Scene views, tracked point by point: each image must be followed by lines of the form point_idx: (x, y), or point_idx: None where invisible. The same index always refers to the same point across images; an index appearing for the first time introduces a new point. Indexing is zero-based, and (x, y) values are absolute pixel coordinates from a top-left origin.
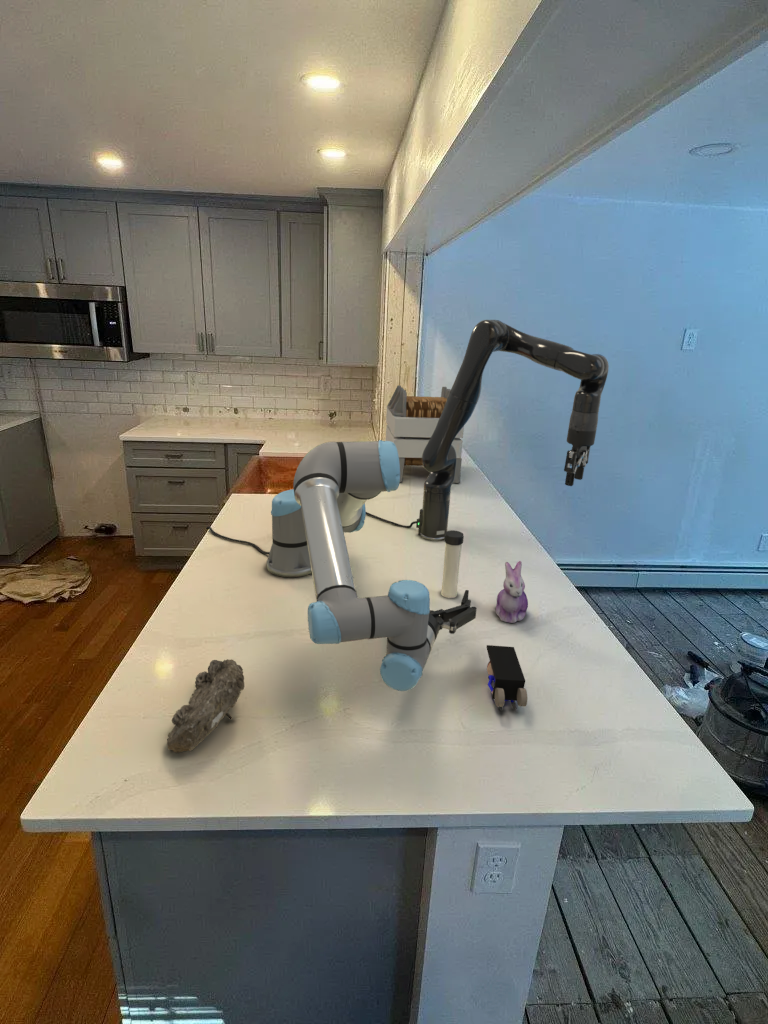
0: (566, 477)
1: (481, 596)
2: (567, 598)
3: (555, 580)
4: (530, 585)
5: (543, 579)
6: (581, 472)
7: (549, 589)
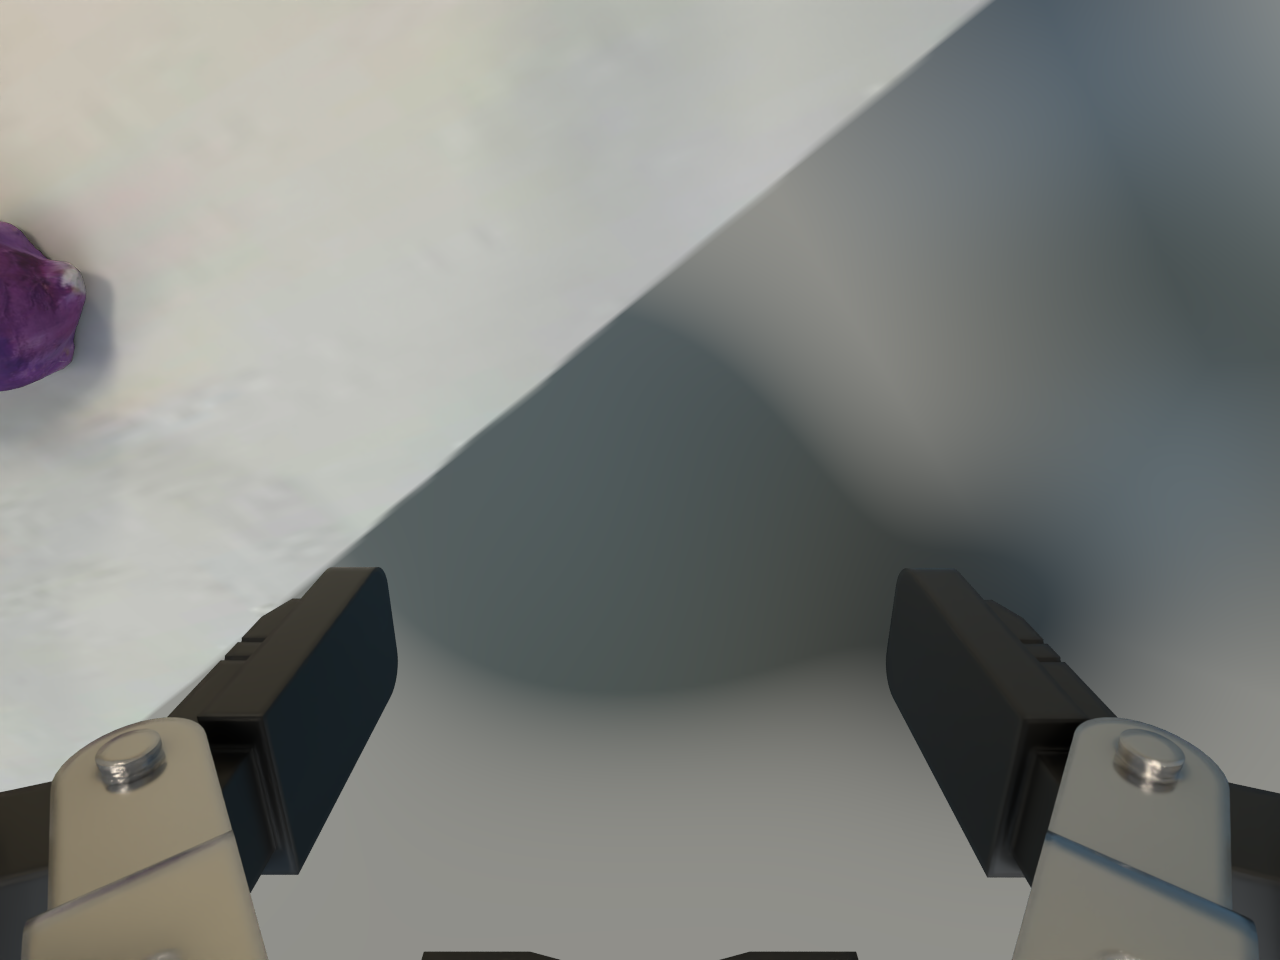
0: (269, 649)
1: (30, 86)
2: (385, 464)
3: (534, 350)
4: (374, 262)
5: (498, 292)
6: (941, 758)
7: (408, 362)
